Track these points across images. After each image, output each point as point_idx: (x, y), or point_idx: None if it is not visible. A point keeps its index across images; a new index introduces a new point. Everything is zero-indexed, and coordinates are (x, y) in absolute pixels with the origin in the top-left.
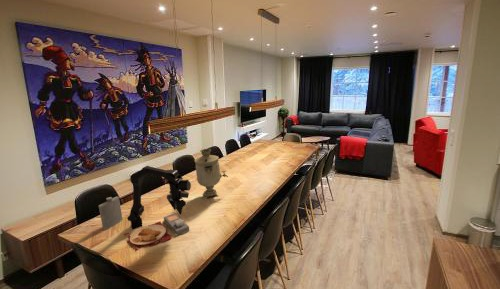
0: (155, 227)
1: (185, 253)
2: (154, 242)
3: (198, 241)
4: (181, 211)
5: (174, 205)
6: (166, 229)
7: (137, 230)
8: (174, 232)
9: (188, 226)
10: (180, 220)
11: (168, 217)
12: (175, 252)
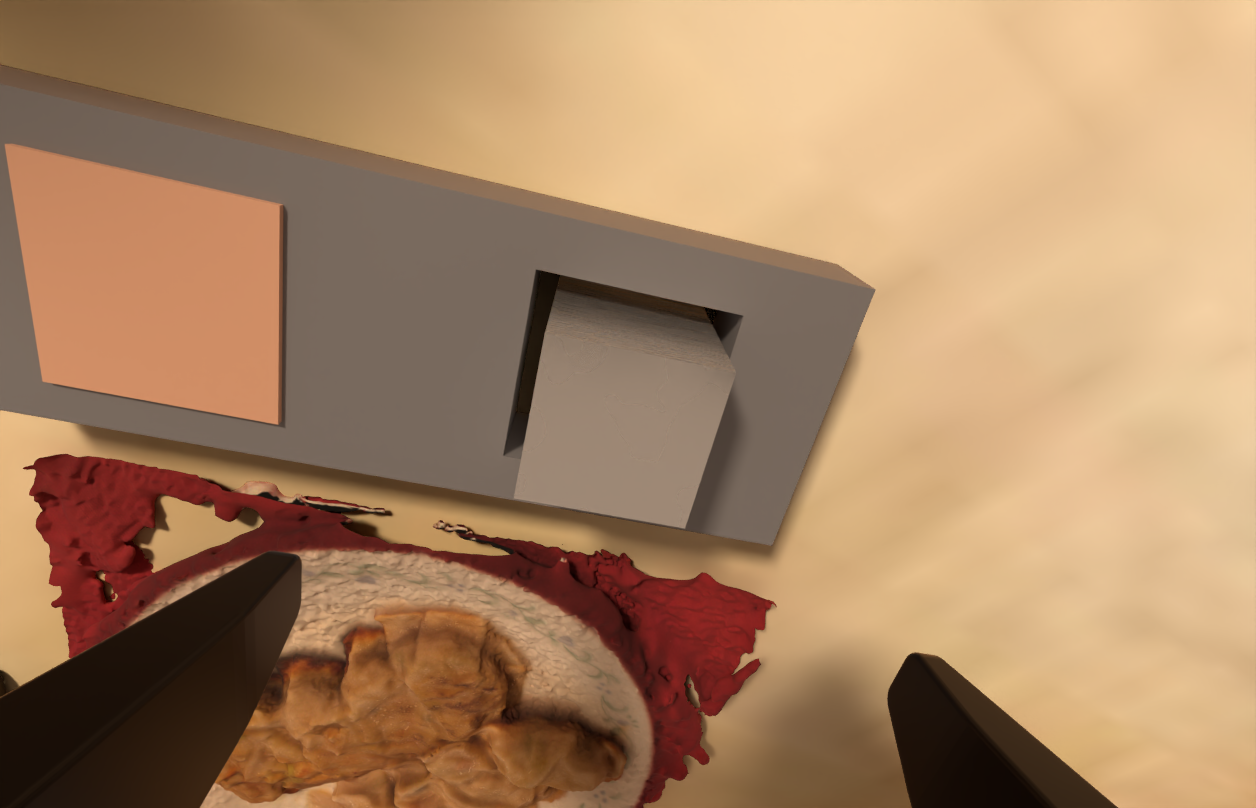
0: None
1: (1200, 641)
2: (666, 779)
3: (1241, 383)
4: (1084, 805)
5: (135, 803)
6: (492, 561)
7: None
8: None
9: (866, 295)
10: (634, 392)
11: (49, 347)
12: (1054, 694)
